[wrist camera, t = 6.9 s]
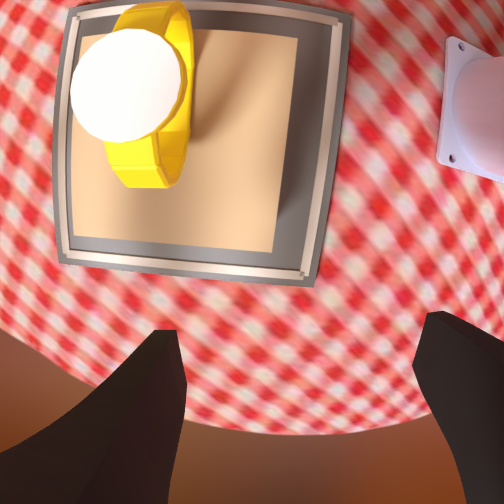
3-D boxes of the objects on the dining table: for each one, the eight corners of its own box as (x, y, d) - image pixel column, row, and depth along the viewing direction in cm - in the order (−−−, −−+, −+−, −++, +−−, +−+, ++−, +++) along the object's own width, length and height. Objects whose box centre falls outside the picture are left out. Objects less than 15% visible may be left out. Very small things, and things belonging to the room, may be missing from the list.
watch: (207, 169, 13) (179, 221, 7) (141, 168, 13) (74, 217, 7) (215, 24, 10) (194, -33, 5) (147, 27, 10) (80, -17, 5)
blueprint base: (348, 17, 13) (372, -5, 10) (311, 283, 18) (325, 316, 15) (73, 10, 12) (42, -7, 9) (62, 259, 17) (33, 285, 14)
